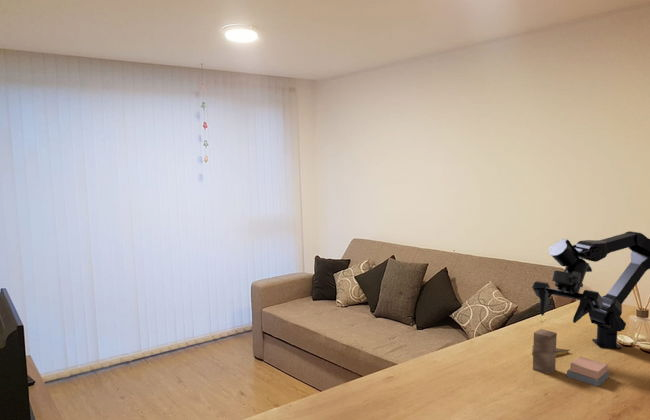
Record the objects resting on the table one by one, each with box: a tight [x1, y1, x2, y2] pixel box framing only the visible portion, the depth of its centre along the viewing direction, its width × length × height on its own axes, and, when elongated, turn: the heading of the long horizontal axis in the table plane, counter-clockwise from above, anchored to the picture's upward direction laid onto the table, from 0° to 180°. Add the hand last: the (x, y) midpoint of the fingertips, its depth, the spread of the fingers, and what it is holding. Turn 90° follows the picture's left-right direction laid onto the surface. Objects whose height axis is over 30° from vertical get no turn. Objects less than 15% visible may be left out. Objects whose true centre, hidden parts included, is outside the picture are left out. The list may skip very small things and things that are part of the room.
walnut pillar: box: [532, 328, 558, 375], centre depth 136 cm, size 4×4×11 cm
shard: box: [531, 345, 571, 357], centre depth 146 cm, size 11×8×2 cm
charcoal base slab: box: [566, 368, 610, 387], centre depth 131 cm, size 8×8×2 cm
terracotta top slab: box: [569, 356, 609, 380], centre depth 131 cm, size 7×7×2 cm
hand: (557, 318), depth 140 cm, fingers open, 9 cm apart
